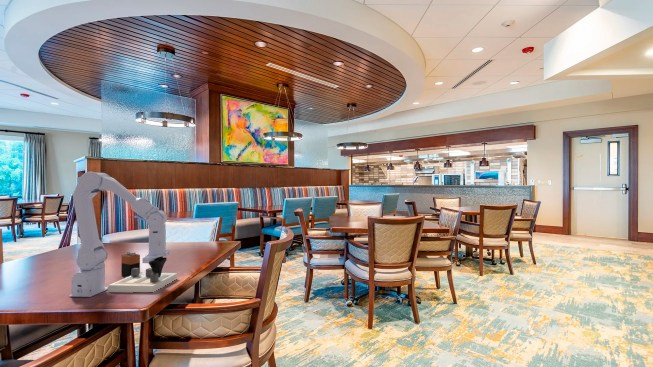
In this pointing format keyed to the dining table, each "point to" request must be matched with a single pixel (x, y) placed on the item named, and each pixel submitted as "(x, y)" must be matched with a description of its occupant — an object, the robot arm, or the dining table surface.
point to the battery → (129, 263)
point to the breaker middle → (148, 272)
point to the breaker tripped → (154, 277)
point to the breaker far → (135, 272)
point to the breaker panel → (141, 283)
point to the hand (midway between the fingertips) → (157, 277)
